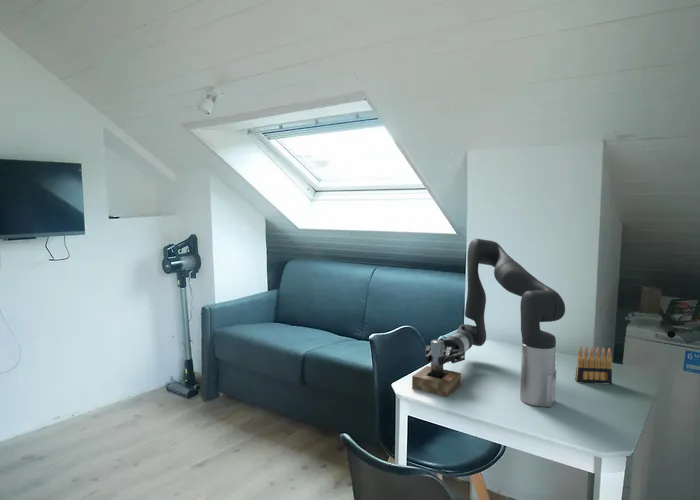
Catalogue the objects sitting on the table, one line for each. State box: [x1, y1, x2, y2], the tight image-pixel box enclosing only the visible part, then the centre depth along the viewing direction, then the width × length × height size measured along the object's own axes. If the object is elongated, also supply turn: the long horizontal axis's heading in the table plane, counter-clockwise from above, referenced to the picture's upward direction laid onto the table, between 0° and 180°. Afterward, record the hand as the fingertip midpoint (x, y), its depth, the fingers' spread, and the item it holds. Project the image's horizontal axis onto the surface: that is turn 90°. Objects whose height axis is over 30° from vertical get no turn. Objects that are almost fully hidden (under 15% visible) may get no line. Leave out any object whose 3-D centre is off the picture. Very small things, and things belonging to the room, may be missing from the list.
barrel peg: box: [430, 339, 444, 379], centre depth 149 cm, size 4×4×12 cm
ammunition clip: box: [574, 346, 613, 385], centre depth 152 cm, size 11×2×12 cm, turn 82°
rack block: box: [411, 365, 462, 398], centre depth 149 cm, size 12×11×4 cm
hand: (433, 360), depth 146 cm, fingers closed on barrel peg, 4 cm apart
